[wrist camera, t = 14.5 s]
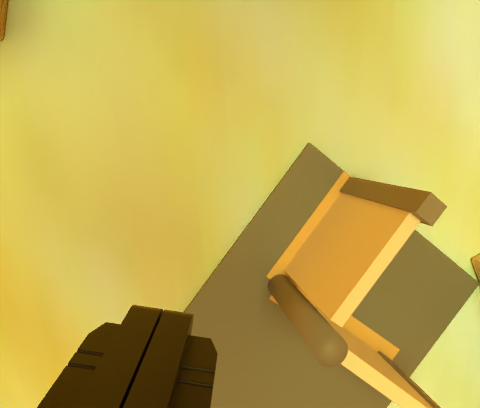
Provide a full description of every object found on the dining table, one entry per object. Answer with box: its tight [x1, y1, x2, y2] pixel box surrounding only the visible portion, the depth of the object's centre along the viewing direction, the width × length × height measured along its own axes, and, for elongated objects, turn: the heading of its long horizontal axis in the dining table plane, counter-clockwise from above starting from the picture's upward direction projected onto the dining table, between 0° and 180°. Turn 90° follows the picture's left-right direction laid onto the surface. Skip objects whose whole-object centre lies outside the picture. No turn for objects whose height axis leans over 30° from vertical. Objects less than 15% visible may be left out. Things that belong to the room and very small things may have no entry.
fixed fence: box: [268, 177, 447, 367], centre depth 34 cm, size 15×2×13 cm, turn 144°
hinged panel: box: [309, 301, 440, 408], centre depth 36 cm, size 15×2×12 cm, turn 52°
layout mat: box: [184, 143, 480, 408], centre depth 42 cm, size 30×27×1 cm
